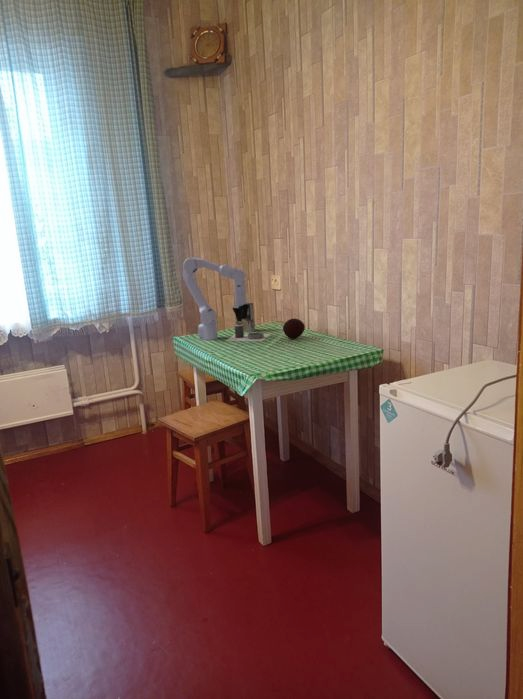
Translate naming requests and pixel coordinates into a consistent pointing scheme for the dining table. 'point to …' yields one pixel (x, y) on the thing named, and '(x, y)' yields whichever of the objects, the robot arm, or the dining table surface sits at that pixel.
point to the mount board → (250, 337)
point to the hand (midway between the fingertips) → (242, 319)
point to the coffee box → (248, 320)
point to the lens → (239, 330)
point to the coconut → (293, 328)
